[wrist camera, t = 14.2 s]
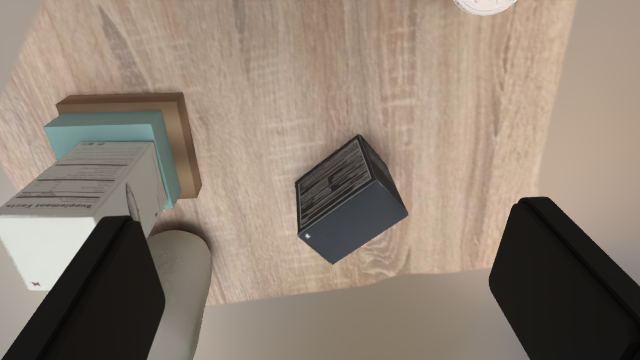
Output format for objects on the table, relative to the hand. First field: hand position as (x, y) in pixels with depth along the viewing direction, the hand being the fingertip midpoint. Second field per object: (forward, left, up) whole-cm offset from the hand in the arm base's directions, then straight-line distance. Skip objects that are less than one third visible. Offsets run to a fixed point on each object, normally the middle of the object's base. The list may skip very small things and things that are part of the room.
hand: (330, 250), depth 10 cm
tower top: (+12, -20, -31) cm, 38 cm away
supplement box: (+13, -19, -27) cm, 35 cm away
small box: (+18, +4, -34) cm, 38 cm away
